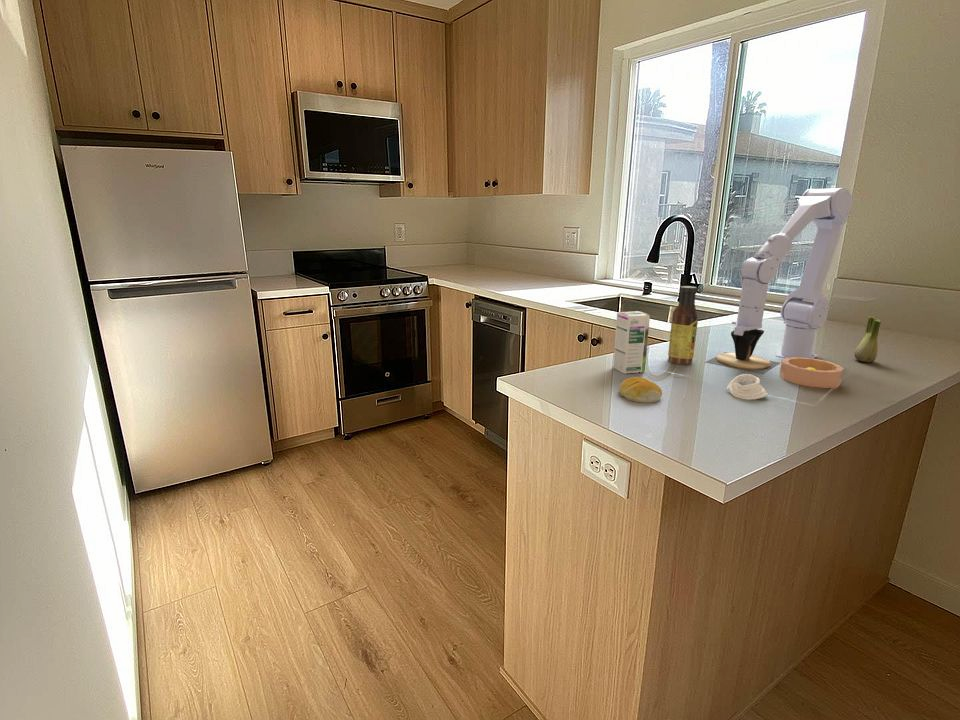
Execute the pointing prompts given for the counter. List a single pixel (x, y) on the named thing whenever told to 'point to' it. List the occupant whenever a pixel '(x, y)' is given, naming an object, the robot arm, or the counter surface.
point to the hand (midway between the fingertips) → (743, 357)
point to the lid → (743, 361)
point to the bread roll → (640, 390)
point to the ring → (811, 372)
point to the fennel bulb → (868, 342)
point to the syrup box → (631, 341)
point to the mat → (760, 371)
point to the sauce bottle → (683, 328)
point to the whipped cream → (746, 387)
